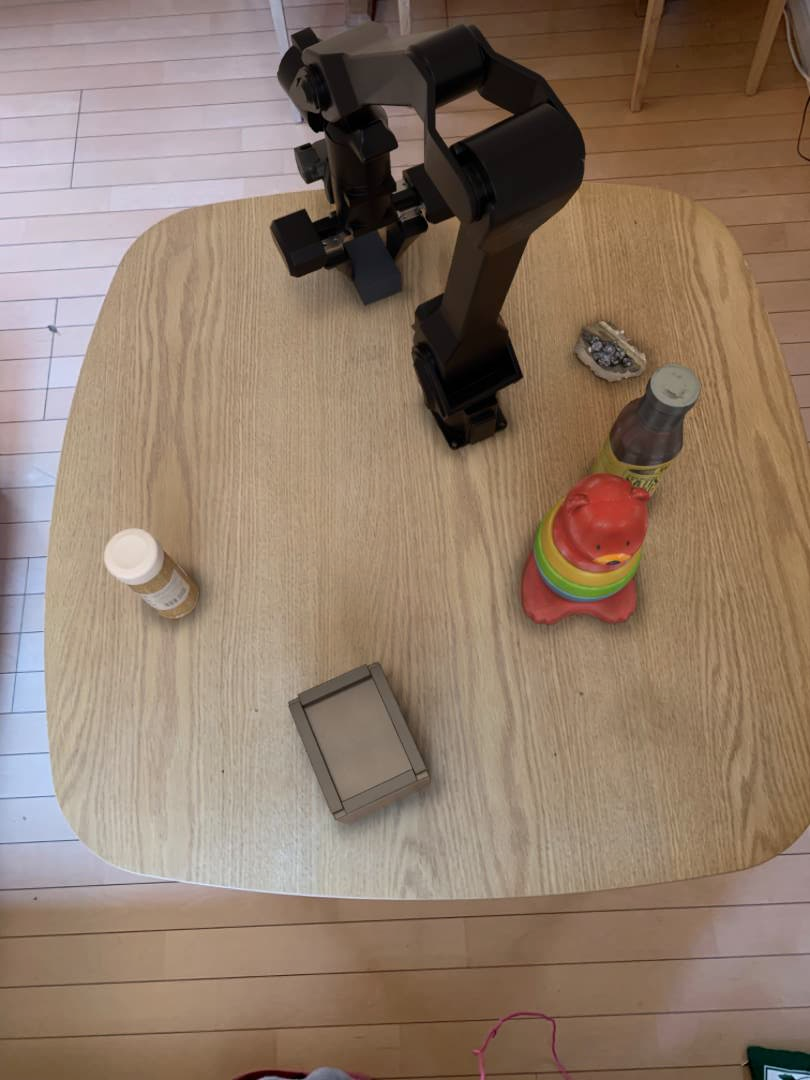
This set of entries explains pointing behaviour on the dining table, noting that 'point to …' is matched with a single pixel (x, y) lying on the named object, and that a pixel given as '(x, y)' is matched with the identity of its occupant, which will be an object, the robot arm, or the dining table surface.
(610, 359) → the mineral rock specimen
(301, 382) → the dining table surface
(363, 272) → the dark blue rectangular block
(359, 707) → the backing frame
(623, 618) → the stacking bear
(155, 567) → the sprinkles bottle
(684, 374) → the sauce bottle
